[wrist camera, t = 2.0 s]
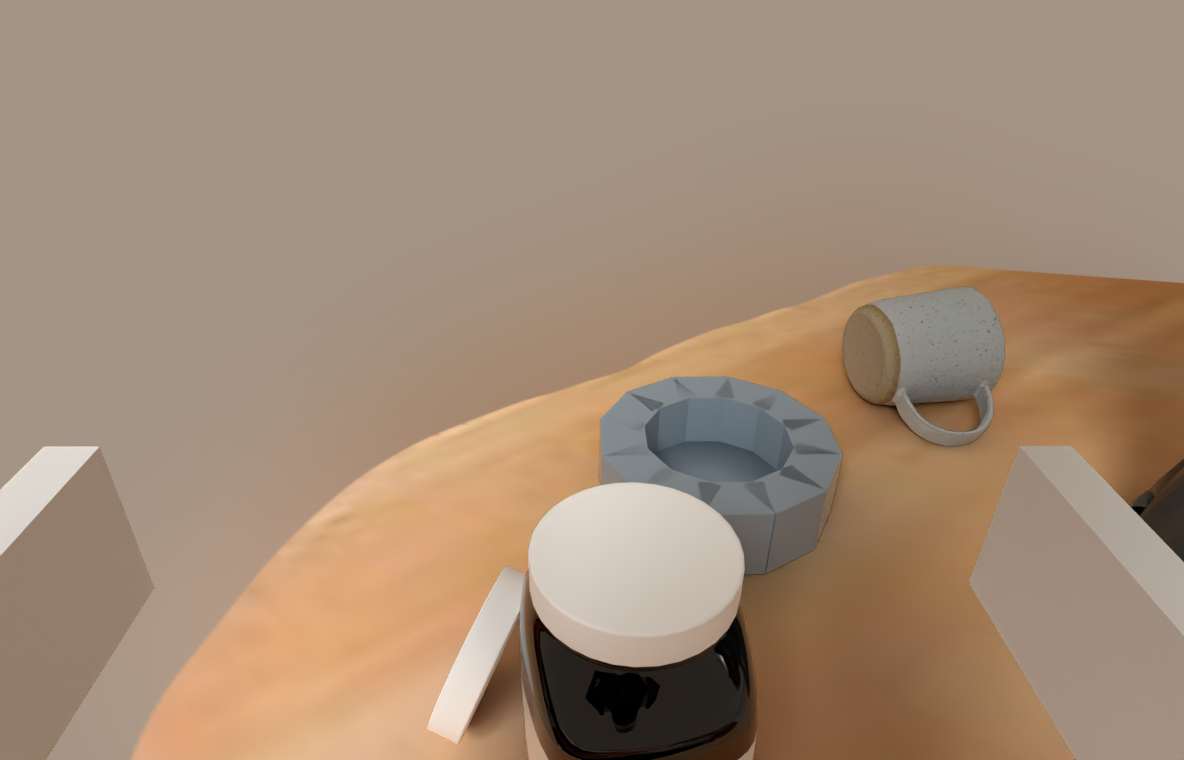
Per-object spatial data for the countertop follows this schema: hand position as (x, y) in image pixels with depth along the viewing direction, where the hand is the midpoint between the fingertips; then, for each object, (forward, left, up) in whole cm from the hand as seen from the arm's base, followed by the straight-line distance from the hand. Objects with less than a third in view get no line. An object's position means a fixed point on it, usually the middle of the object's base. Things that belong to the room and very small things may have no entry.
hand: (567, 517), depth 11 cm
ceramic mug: (-24, -35, -21) cm, 48 cm away
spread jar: (0, -10, -21) cm, 23 cm away
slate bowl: (-8, -26, -21) cm, 34 cm away
